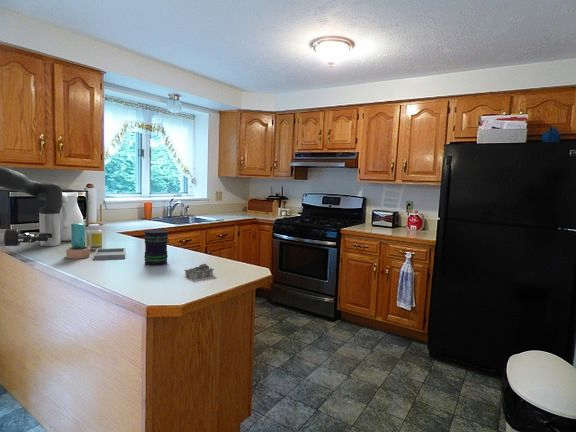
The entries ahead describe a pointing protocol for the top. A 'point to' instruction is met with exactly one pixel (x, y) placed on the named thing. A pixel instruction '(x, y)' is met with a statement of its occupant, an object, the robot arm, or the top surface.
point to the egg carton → (199, 271)
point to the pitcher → (69, 214)
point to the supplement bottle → (94, 237)
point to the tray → (109, 253)
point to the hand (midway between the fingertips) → (50, 236)
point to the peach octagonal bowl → (77, 253)
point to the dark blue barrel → (156, 247)
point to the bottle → (78, 236)
